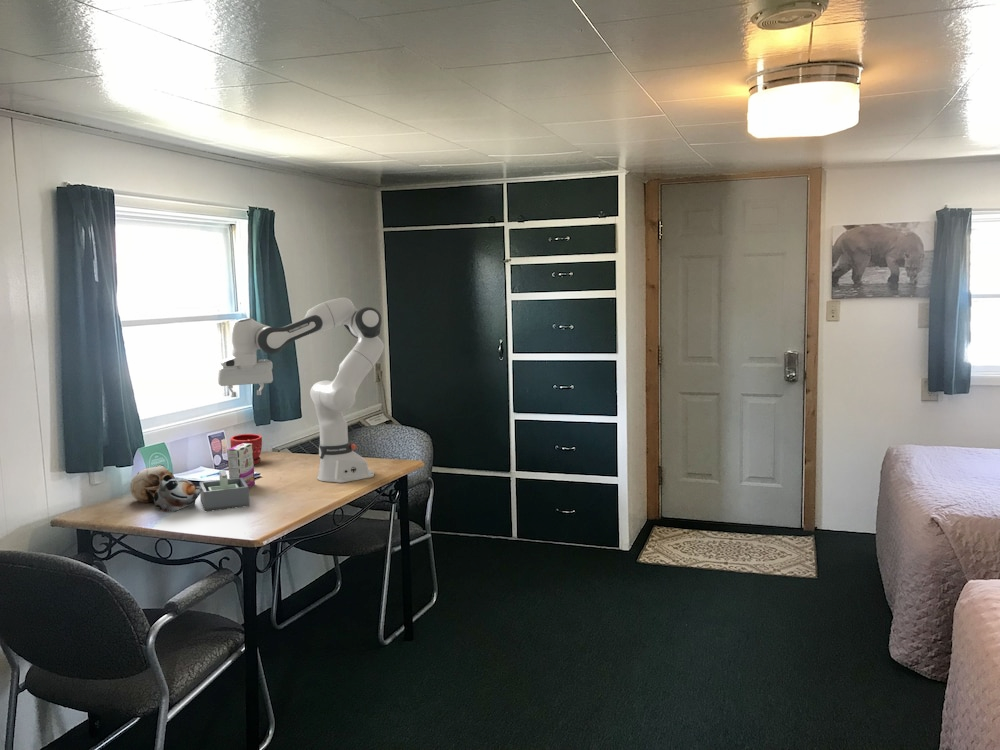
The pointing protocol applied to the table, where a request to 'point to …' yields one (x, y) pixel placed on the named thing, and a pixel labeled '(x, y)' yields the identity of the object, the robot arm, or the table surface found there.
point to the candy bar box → (241, 463)
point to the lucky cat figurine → (175, 494)
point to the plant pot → (250, 439)
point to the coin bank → (148, 483)
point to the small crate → (223, 482)
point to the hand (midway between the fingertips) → (246, 395)
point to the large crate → (224, 495)
